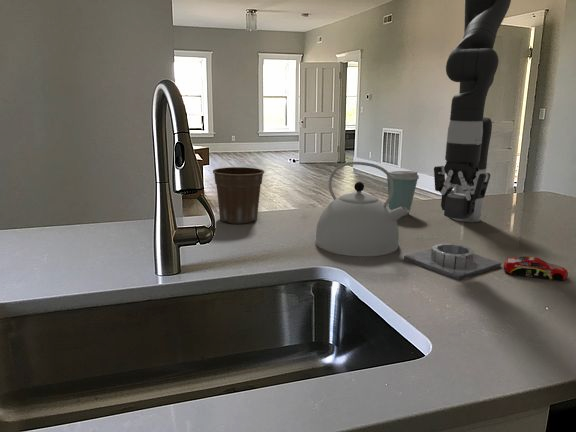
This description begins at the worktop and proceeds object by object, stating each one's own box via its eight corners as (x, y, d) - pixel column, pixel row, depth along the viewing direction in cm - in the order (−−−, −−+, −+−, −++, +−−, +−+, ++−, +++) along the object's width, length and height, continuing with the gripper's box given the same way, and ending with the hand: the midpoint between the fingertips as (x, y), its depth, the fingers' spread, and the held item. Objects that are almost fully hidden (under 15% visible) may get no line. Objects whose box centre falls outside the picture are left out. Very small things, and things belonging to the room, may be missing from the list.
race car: (565, 275, 108) (567, 259, 107) (569, 284, 103) (572, 267, 102) (502, 267, 113) (504, 251, 112) (503, 275, 108) (506, 258, 107)
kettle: (414, 239, 134) (421, 160, 129) (396, 263, 114) (402, 171, 109) (332, 228, 145) (335, 154, 139) (302, 248, 125) (303, 163, 119)
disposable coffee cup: (378, 213, 162) (380, 170, 159) (393, 208, 170) (396, 167, 167) (406, 219, 156) (410, 174, 152) (420, 213, 164) (424, 170, 160)
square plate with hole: (403, 259, 117) (404, 246, 116) (445, 248, 125) (446, 236, 125) (458, 280, 104) (460, 265, 103) (500, 266, 113) (502, 252, 112)
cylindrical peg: (439, 214, 112) (440, 194, 111) (453, 212, 116) (455, 192, 114) (458, 219, 108) (461, 198, 107) (473, 216, 111) (476, 195, 110)
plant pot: (256, 212, 163) (255, 165, 159) (270, 223, 148) (271, 173, 144) (209, 215, 157) (208, 167, 153) (220, 228, 143) (218, 175, 139)
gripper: (428, 139, 111) (422, 208, 115) (482, 144, 100) (473, 221, 104) (448, 138, 115) (442, 205, 119) (502, 142, 104) (493, 217, 108)
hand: (456, 212), depth 112 cm, fingers closed on cylindrical peg, 5 cm apart
